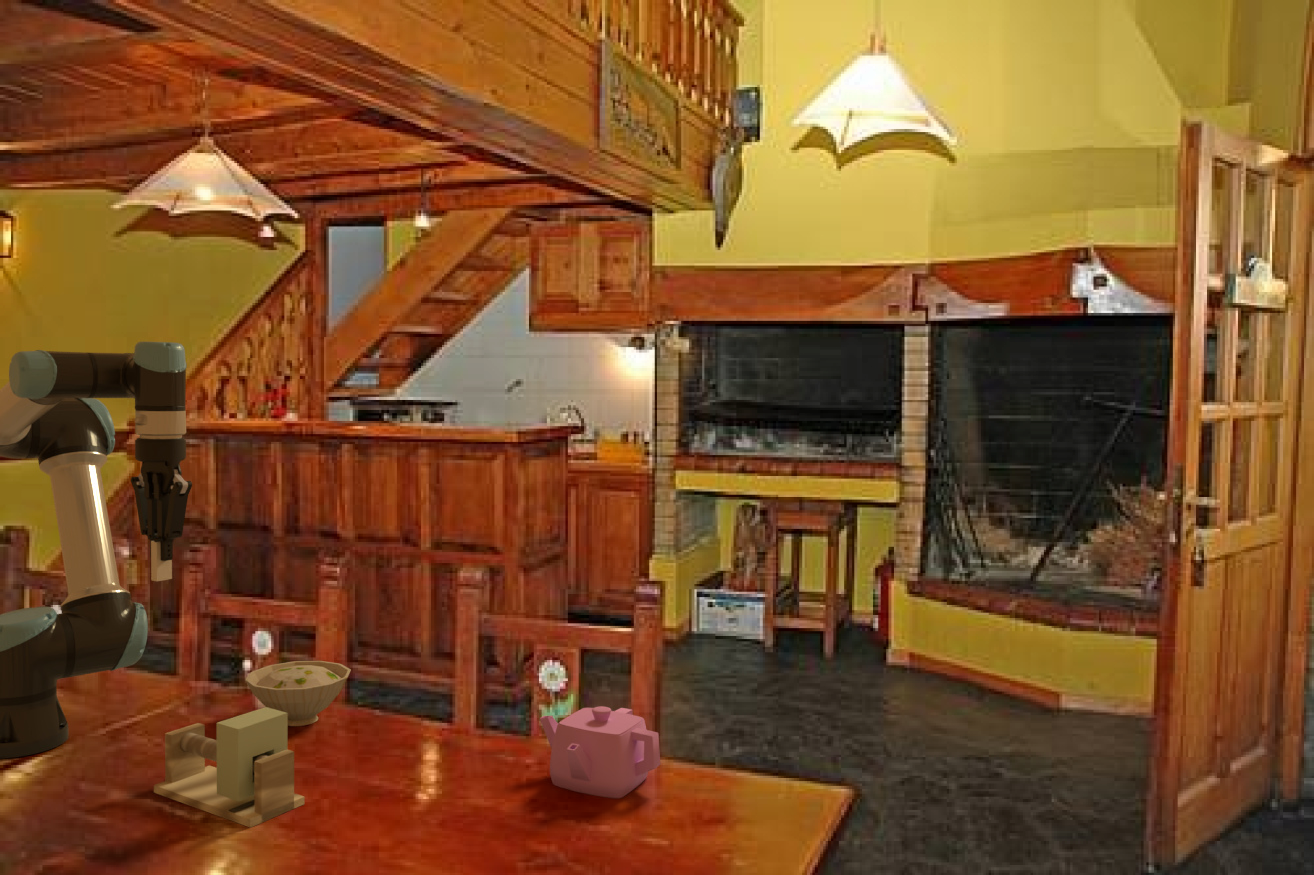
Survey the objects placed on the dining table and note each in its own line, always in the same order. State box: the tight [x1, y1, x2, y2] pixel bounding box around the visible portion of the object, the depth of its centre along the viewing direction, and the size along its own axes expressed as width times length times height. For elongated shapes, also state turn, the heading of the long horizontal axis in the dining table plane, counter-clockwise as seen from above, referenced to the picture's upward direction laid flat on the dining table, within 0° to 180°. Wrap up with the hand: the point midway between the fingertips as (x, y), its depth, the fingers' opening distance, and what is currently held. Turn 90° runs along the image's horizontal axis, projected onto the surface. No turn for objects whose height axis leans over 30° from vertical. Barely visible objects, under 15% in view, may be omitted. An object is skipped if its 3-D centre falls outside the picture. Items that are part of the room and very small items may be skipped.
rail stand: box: [153, 722, 305, 828], centre depth 164 cm, size 23×10×9 cm, turn 60°
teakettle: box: [539, 705, 661, 799], centre depth 174 cm, size 17×17×12 cm
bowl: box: [245, 660, 352, 727], centre depth 200 cm, size 19×19×10 cm
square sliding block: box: [216, 706, 288, 801], centre depth 160 cm, size 5×9×11 cm, turn 150°
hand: (161, 579), depth 172 cm, fingers closed
